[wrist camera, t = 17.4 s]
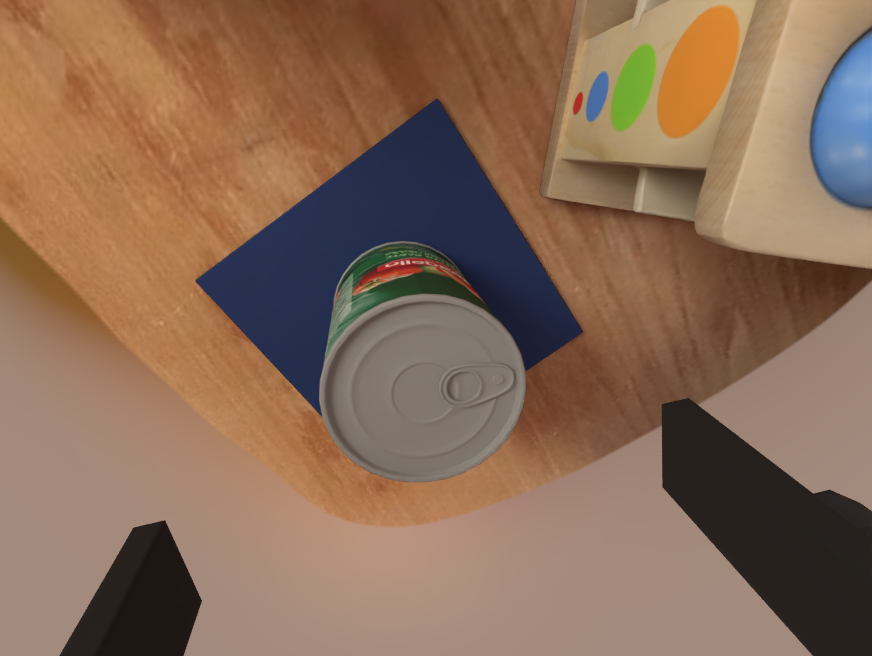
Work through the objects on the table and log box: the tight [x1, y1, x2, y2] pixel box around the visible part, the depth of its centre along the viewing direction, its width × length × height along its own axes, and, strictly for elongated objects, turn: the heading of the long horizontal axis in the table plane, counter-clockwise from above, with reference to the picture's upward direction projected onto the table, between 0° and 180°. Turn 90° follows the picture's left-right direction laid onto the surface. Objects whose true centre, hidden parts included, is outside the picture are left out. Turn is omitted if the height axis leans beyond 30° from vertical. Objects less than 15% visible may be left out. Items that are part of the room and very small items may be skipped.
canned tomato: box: [319, 241, 526, 482], centre depth 24 cm, size 8×8×11 cm
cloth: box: [195, 99, 583, 416], centre depth 30 cm, size 16×16×1 cm
